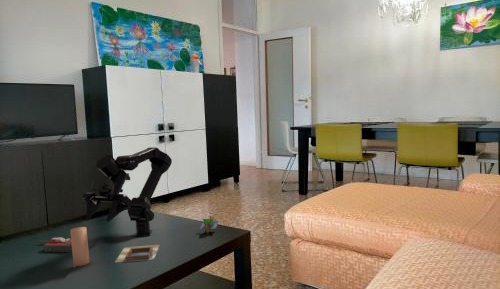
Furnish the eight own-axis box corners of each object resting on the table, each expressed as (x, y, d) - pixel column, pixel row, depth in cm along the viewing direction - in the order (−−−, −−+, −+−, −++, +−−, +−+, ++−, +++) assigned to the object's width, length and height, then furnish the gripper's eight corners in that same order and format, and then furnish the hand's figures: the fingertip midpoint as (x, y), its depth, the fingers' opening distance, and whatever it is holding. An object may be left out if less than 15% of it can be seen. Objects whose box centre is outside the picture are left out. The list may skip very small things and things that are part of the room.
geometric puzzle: (213, 232, 150) (216, 213, 154) (197, 231, 151) (200, 213, 155) (218, 237, 156) (220, 219, 160) (202, 237, 157) (205, 219, 161)
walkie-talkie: (86, 244, 150) (41, 244, 153) (85, 233, 149) (40, 233, 152) (73, 253, 141) (25, 252, 144) (72, 241, 141) (24, 241, 144)
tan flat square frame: (124, 250, 140) (124, 247, 140) (160, 247, 141) (159, 244, 141) (114, 266, 125) (114, 262, 125) (153, 263, 127) (153, 259, 126)
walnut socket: (130, 252, 134) (130, 248, 134) (152, 250, 135) (152, 246, 135) (125, 261, 126) (125, 257, 126) (149, 259, 127) (148, 255, 127)
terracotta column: (76, 263, 129) (73, 227, 128) (91, 262, 130) (88, 226, 129) (71, 270, 124) (67, 232, 123) (86, 268, 125) (83, 230, 124)
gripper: (83, 171, 140) (62, 208, 131) (124, 172, 133) (104, 210, 124) (100, 187, 148) (81, 223, 139) (139, 188, 141) (122, 226, 132)
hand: (96, 220), depth 133 cm, fingers open, 9 cm apart
